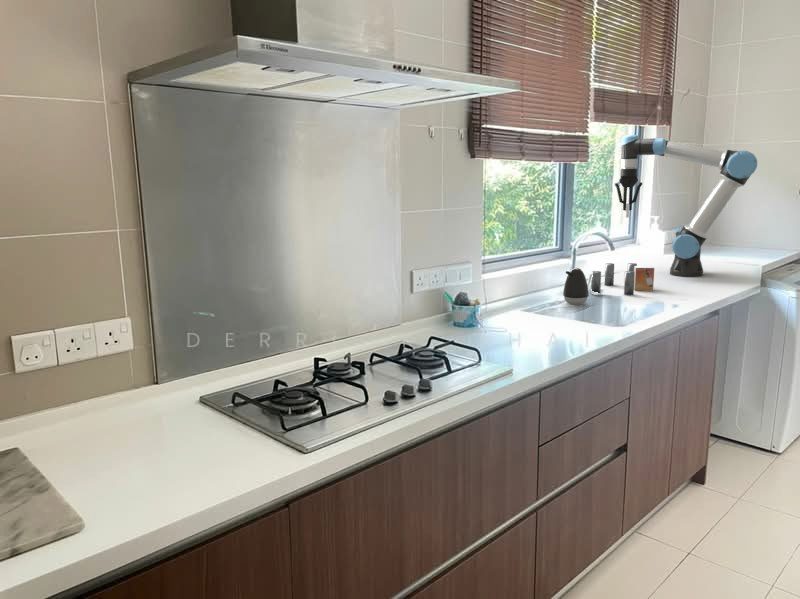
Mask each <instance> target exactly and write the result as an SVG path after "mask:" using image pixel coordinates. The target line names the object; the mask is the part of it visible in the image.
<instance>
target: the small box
mask: <svg viewBox="0 0 800 599" xmlns="http://www.w3.org/2000/svg"><path fill="white" fill-rule="evenodd" d="M634 272H635V276H634V291H647V292H653V291H654V280H655V267H654V266H653V265H637V266H634Z"/></svg>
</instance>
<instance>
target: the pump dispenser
mask: <svg viewBox="0 0 800 599" xmlns="http://www.w3.org/2000/svg"><path fill="white" fill-rule="evenodd" d="M565 274H566V275H567V276H566V279H565V282H564V285H563V286H564V287H563V294H562V295H563V298H564V300H565V302H566V303H567V304H568V305H570V306H581V305H583V304H585V303H586V302H587V300H588V298H589V295H590V294H589V286H588V282H587V281H588V280H587V278H586V274H585V273H584V272H583V270H582V269H581V268H579V267H573V268H571V269H570V271H568V270H566V271H565Z"/></svg>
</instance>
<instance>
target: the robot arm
mask: <svg viewBox="0 0 800 599" xmlns="http://www.w3.org/2000/svg"><path fill="white" fill-rule="evenodd" d="M620 147H621V150H620V151H621V152H620V155H621V156H620V157H621V158H620V168H621V169H620V178H619V180H618V181H617V182H615V183H614V186H615V188H616V192H617V196H618V200H619V201H618V202H619V203H620V204H622V210H623V211H624V212H625V213H624V217H625V218H630V211H632V210H633V206H632V205H633V203H634V204H635V203H637V200H638V196H639V192H640V188H641V187H642V185H643V182H642V181H639V179H638V169H637V168H638V161H639V160H638V159H639V158H638V157H639V156H653V155H654V156H660V157H666V158H671V159H676V160H679V161H680V160H681V161H684V162H685V161H686V162H690V163H696V164H700V165H705V166H710V167H714V168H715V167H716V168H718V169H719V171H720V172H719V174H718V175H719V180H718V181H717V182H716V184H715V186H714V187H713V188H712V190H711V191H710V193H709V194H708V196H707V197H706V198H705V200H704V201H703V203H702V204H701V206H700V207H699V209H698V210H697V212H695V213H696V214H695V215H694V216H693V218H692V220H691V221H690V222H689V223H688V224H683V227H679V228H676V231H675V238H674V239H673V240H672V243H671V248H672V252H673V253H674V258H673V262H672V264H671V267H670V268H669V274H670V273H671V274H670V275H672V276H677V277H687V278H689V277H690V278H691V277H693V278H694V277H700V276H703V275H704V268H703V265H702V264H703V263H702V260H701V254H702V253H701V252H702V246H703V244H704V243H705V241H706V240H707V238H708V235H707V233H708V231H709V230H710V229H711V227H712V226H713V224H714V223H715V221H716V220H717V219H718V217H720V216H719V215H721V213H722V211H723V209H725V207H726V206H727V204H728V203H729V201H730V200H731V198H732V197H733V196H734V194H735V193H736V191H737V190H738V188H740V187H743V186H745V184H746V183H747V182H748V180H749V178H750V177H752V175H753V174H754V173H755V171H756V170H757V167H758V158H757V157H756V155H755V154H754V153H752V152H751V151H748V150H733V149H732V150H731V149H725V150H719V149H714V148H709V147H705V146H704V147H703V146H699V145H693V144H687V143H681V142H678V141H672V140H666V138H664V137H661V138H660V137H655V138H640V137H639V135H638V134H631V135H630V134H629V135H628V134H627V135H624V136H623V137H621V146H620ZM620 186H622V187H623V194H622V191H621V187H620ZM635 186H636V188H635V191H634V195H633V189H634V187H635ZM622 195H623V196H622ZM627 195H628V196H627ZM627 197H628V202H627Z"/></svg>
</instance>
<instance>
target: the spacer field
mask: <svg viewBox="0 0 800 599" xmlns="http://www.w3.org/2000/svg"><path fill="white" fill-rule="evenodd" d="M604 265H605V266H604V267H605V268H604V286H607V287H611V286H614V284H615V283H614V282H615V280H614V279H615V277H614V276H615V263H613V262H612V263H611V262H610V263H605V264H604ZM634 266H638V264H637V263H635V262H631V263H628V262H627V270H625V271H624V286H623V287H624V288H623V291H624V292H623V294H624V295H625V296H634V294H635V292H634V291H635V290H634V276H635V272H634ZM591 275H593V277H592V280H591V281H590V283H591V284H590V290H591V289H592V291H594V292H598V293H600V294H601V290H602V289H601V288H602V286H601V285H602V282H601V280H602V271H600V270H593V271H591Z"/></svg>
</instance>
